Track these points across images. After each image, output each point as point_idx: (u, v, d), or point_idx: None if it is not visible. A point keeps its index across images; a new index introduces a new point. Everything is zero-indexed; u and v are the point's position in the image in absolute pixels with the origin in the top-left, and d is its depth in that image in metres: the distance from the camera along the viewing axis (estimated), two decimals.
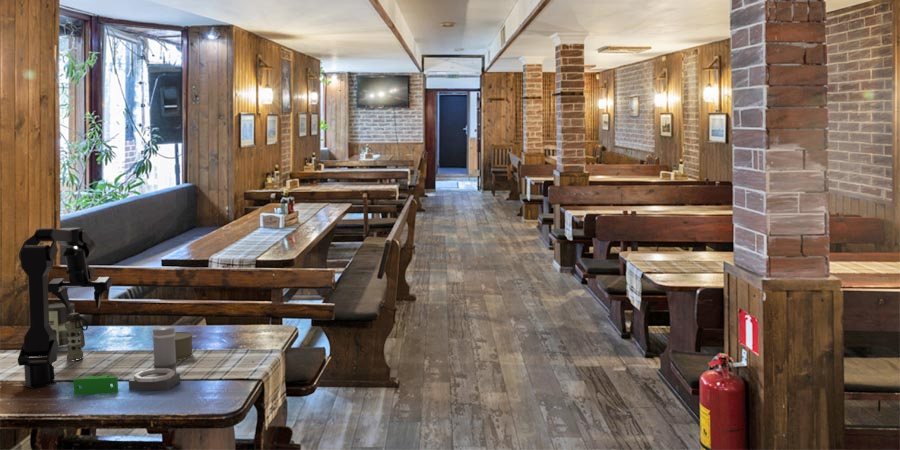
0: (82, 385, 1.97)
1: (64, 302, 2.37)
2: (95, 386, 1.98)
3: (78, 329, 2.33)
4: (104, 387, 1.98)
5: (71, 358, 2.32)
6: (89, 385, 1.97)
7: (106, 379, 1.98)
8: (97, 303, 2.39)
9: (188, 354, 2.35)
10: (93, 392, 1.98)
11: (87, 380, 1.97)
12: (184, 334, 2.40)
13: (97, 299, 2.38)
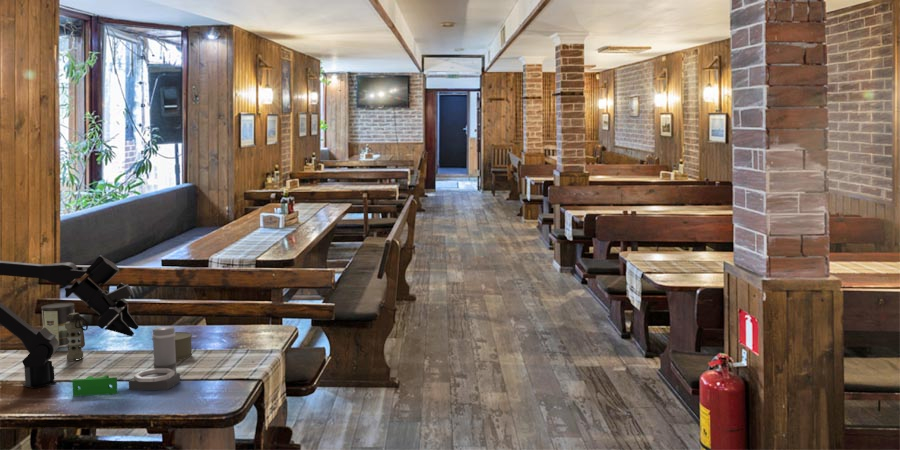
0: (81, 386, 1.96)
1: None
2: (94, 387, 1.97)
3: (78, 329, 2.33)
4: (103, 388, 1.97)
5: (71, 358, 2.32)
6: (88, 386, 1.97)
7: (105, 380, 1.97)
8: None
9: (187, 354, 2.35)
10: (92, 393, 1.97)
11: (86, 381, 1.96)
12: (183, 334, 2.40)
13: None
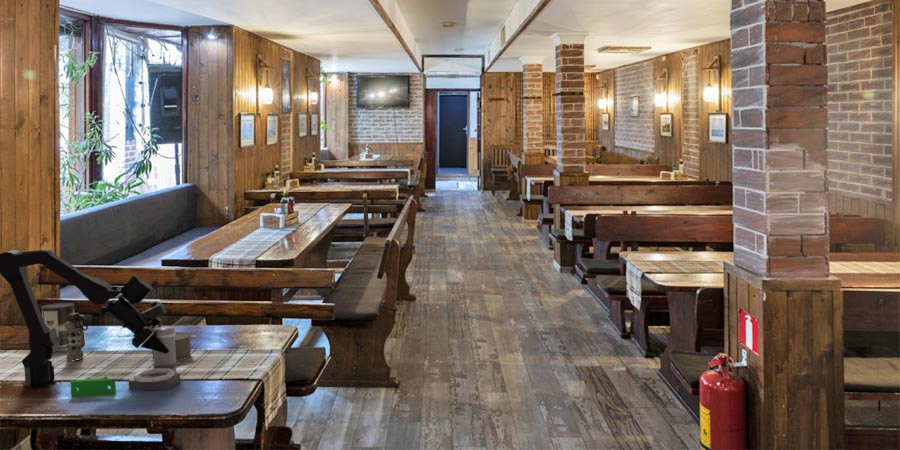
0: (79, 387, 1.95)
1: None
2: (93, 388, 1.96)
3: (78, 329, 2.33)
4: (102, 389, 1.96)
5: (71, 358, 2.32)
6: (86, 387, 1.95)
7: (104, 381, 1.96)
8: None
9: (186, 355, 2.35)
10: (90, 394, 1.96)
11: (84, 382, 1.95)
12: (182, 334, 2.39)
13: None
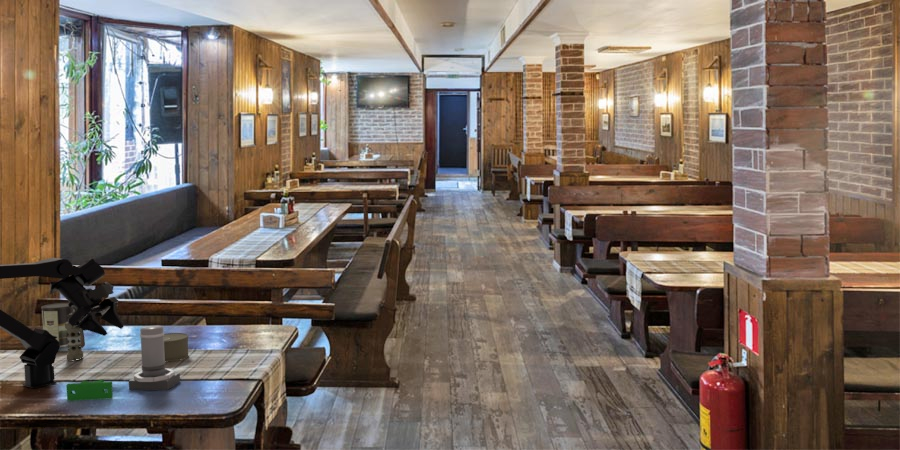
0: (75, 390, 1.92)
1: None
2: (89, 391, 1.93)
3: (78, 329, 2.33)
4: (98, 392, 1.93)
5: (71, 358, 2.32)
6: (82, 390, 1.93)
7: (100, 384, 1.93)
8: None
9: (184, 355, 2.34)
10: (86, 398, 1.93)
11: (81, 385, 1.92)
12: (180, 335, 2.39)
13: None
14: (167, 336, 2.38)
